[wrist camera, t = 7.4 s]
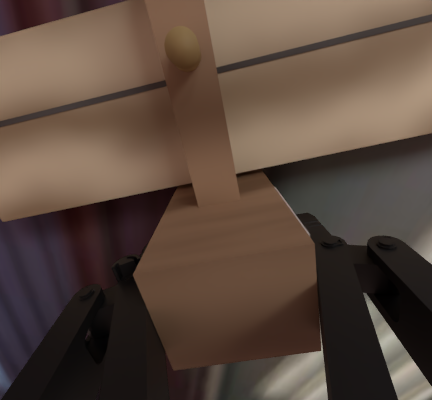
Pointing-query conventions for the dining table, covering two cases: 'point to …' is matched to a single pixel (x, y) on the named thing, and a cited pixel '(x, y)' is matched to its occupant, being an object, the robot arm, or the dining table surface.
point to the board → (229, 85)
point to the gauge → (221, 227)
